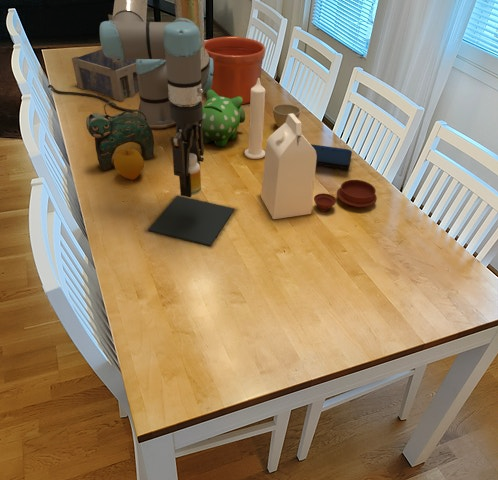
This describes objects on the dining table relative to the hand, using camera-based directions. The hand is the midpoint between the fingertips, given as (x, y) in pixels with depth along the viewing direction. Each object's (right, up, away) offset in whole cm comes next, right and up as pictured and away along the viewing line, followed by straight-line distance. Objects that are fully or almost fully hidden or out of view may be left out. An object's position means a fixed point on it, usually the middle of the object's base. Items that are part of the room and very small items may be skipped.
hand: (190, 189), depth 120 cm
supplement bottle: (0, 0, 0) cm, 0 cm away
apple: (-21, +9, +22) cm, 32 cm away
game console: (+41, +16, +33) cm, 55 cm away
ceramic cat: (-25, +15, +29) cm, 41 cm away
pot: (+8, +56, +73) cm, 92 cm away
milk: (+26, -2, +14) cm, 30 cm away
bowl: (+29, +34, +52) cm, 68 cm away
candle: (+17, +20, +36) cm, 44 cm away
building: (-41, +60, +75) cm, 105 cm away
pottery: (+43, -1, +16) cm, 46 cm away
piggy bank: (+5, +27, +43) cm, 51 cm away
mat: (0, -7, +7) cm, 10 cm away
